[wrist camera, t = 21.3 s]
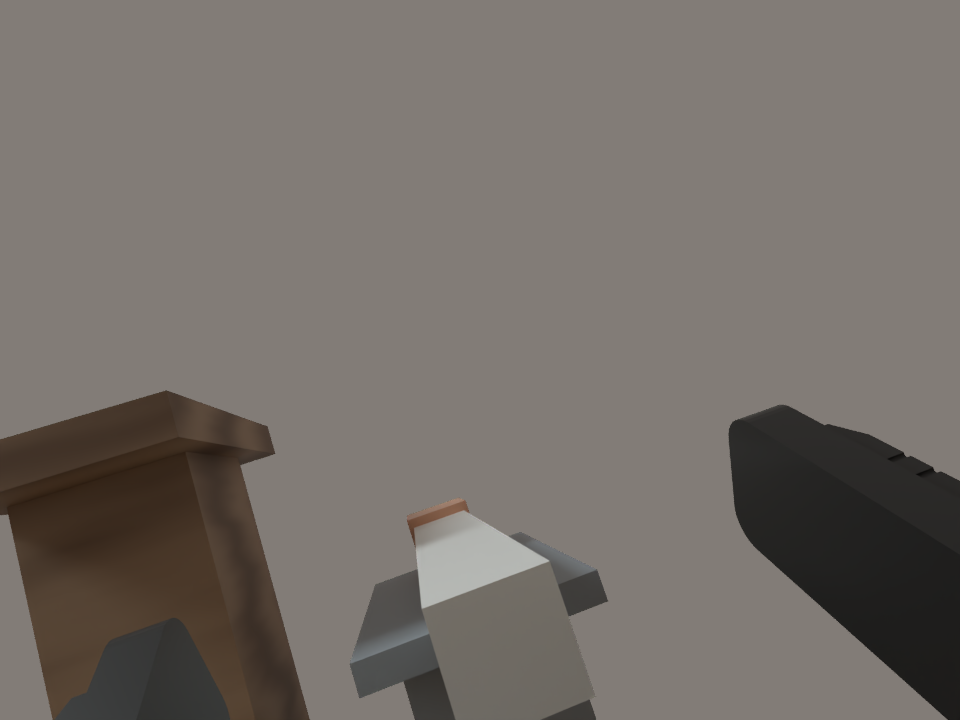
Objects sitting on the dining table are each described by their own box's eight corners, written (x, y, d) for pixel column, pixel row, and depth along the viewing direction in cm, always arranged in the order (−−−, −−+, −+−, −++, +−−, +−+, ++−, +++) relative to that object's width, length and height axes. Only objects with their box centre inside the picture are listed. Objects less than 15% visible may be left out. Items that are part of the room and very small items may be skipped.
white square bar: (606, 692, 11) (553, 535, 11) (453, 756, 10) (403, 590, 11) (475, 550, 32) (458, 497, 33) (423, 568, 32) (407, 515, 32)
